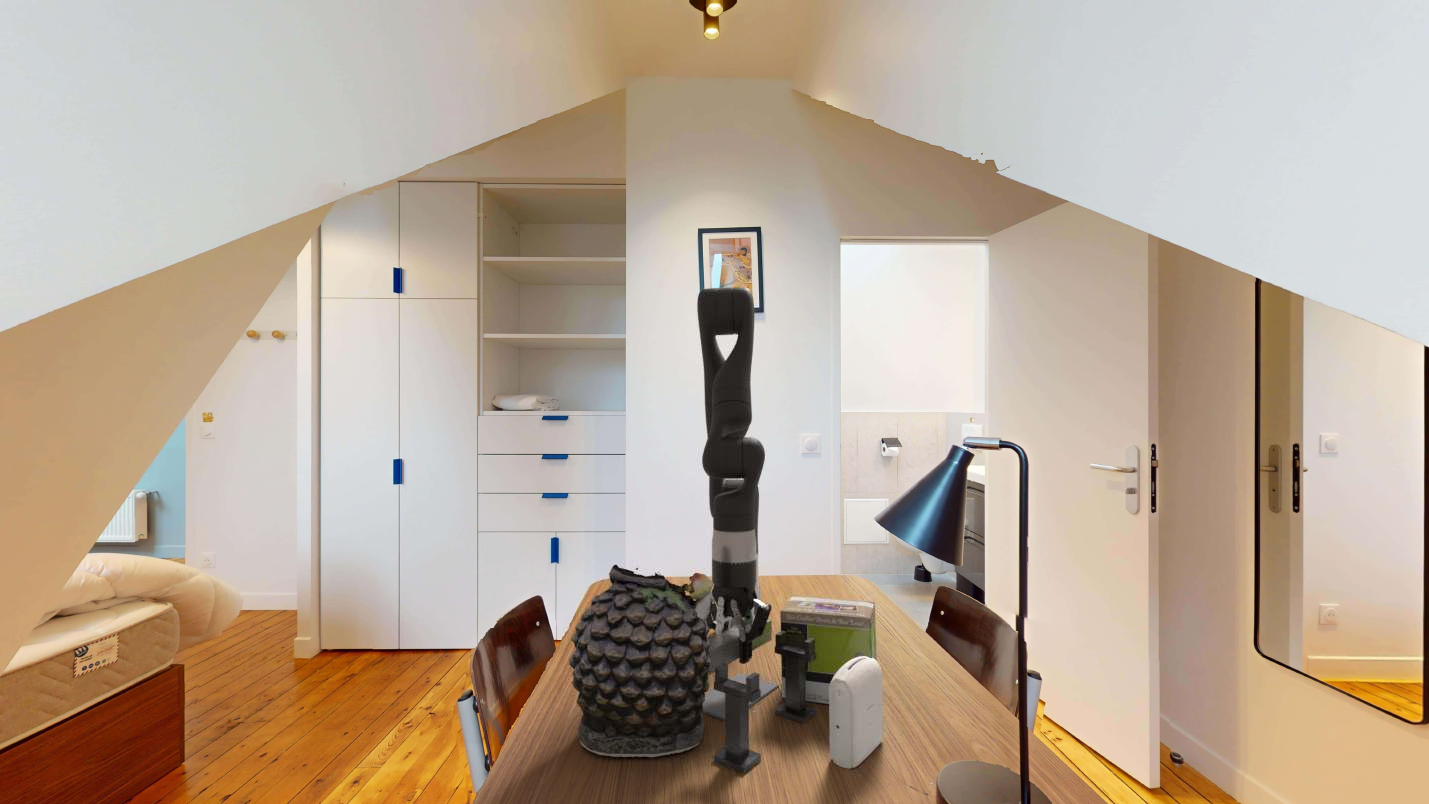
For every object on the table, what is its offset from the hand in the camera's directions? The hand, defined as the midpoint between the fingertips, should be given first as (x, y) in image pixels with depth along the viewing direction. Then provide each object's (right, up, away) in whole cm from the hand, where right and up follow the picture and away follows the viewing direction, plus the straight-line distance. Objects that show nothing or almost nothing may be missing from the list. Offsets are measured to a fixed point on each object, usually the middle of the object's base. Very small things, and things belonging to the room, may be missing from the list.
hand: (734, 658), depth 98 cm
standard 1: (0, -6, -19) cm, 20 cm away
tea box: (+16, -6, +1) cm, 18 cm away
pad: (0, -6, 0) cm, 6 cm away
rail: (0, +1, 0) cm, 1 cm away
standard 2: (+9, -6, -6) cm, 13 cm away
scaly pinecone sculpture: (-14, -6, -13) cm, 20 cm away
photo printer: (+17, -6, -17) cm, 24 cm away
